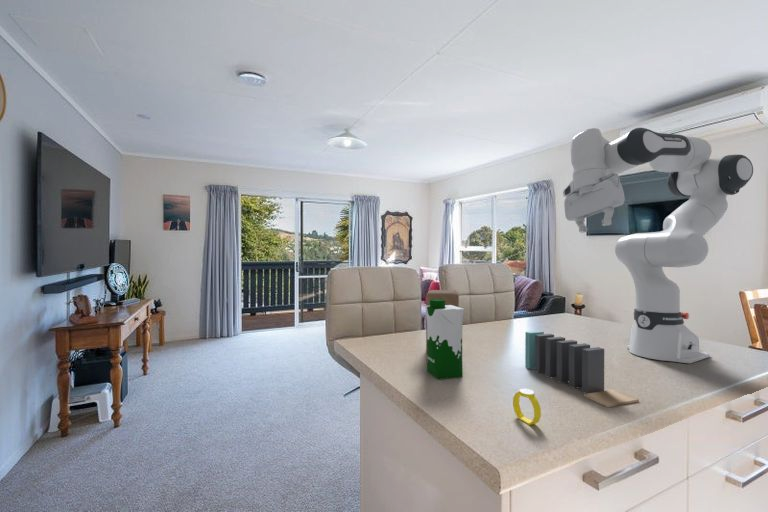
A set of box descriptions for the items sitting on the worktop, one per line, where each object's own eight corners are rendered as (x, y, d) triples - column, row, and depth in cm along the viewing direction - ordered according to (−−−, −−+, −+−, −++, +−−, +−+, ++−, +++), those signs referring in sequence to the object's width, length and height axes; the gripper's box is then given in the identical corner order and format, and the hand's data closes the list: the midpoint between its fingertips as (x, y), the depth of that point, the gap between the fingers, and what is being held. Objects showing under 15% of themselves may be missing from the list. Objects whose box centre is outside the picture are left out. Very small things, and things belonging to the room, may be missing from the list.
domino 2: (535, 371, 98) (535, 334, 98) (549, 369, 99) (549, 333, 99) (539, 373, 96) (539, 336, 96) (554, 371, 98) (554, 334, 98)
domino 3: (545, 375, 94) (545, 338, 94) (560, 373, 96) (560, 336, 96) (550, 377, 93) (550, 339, 93) (565, 375, 94) (565, 337, 94)
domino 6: (581, 391, 83) (582, 349, 83) (598, 389, 85) (598, 347, 85) (587, 394, 82) (588, 350, 82) (604, 391, 84) (604, 348, 83)
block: (458, 358, 110) (458, 293, 110) (425, 356, 112) (425, 292, 112) (458, 349, 119) (458, 290, 119) (428, 348, 121) (428, 289, 121)
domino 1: (525, 367, 101) (525, 331, 101) (539, 365, 103) (539, 330, 103) (529, 368, 100) (529, 333, 100) (543, 367, 102) (543, 331, 101)
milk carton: (422, 370, 99) (422, 298, 98) (452, 367, 101) (452, 296, 101) (436, 381, 90) (436, 302, 90) (468, 377, 93) (468, 300, 93)
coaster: (613, 391, 83) (613, 389, 83) (638, 401, 78) (638, 399, 78) (583, 396, 81) (583, 394, 81) (608, 407, 75) (608, 404, 75)
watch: (543, 428, 67) (545, 397, 66) (531, 430, 66) (533, 399, 65) (520, 412, 72) (521, 384, 72) (509, 414, 71) (510, 386, 71)
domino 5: (568, 385, 87) (568, 345, 87) (584, 383, 89) (584, 343, 89) (574, 388, 86) (574, 346, 85) (590, 385, 87) (590, 344, 87)
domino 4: (556, 380, 91) (556, 341, 91) (571, 378, 92) (572, 339, 92) (561, 382, 89) (561, 342, 89) (577, 380, 91) (577, 341, 91)
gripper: (628, 170, 96) (633, 220, 94) (577, 193, 116) (581, 235, 114) (607, 169, 95) (612, 220, 93) (559, 193, 115) (563, 235, 113)
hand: (594, 228), depth 104 cm, fingers open, 8 cm apart
